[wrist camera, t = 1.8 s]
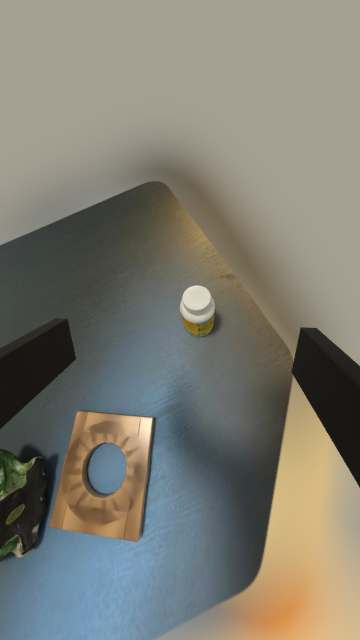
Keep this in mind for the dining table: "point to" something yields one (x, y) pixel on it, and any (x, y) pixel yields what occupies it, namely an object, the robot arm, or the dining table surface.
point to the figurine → (20, 503)
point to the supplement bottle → (197, 311)
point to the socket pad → (87, 504)
